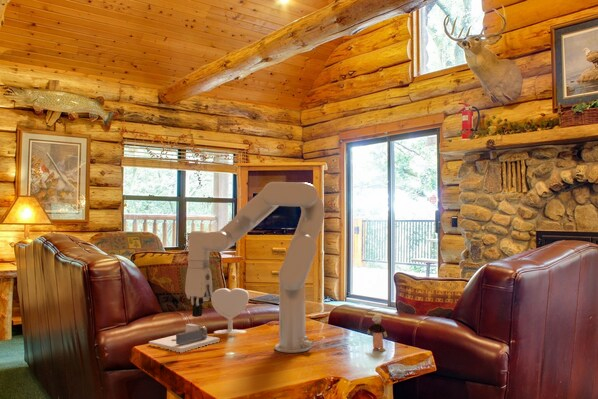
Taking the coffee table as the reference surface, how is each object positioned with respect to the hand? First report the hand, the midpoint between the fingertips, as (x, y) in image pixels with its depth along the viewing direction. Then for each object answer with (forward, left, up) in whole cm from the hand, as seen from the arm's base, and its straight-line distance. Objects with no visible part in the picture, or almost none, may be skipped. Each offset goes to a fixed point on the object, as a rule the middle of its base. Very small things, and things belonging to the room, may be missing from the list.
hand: (197, 316), depth 177 cm
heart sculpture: (+11, -28, -12) cm, 33 cm away
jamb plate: (+11, -4, -12) cm, 17 cm away
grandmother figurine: (-53, -37, -12) cm, 66 cm away
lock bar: (+6, -3, -10) cm, 12 cm away
